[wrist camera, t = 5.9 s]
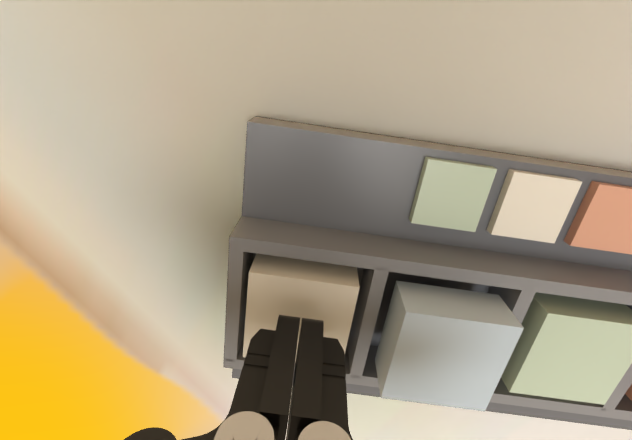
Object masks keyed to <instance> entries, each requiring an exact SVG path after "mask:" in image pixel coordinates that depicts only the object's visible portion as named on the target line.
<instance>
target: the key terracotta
mask: <svg viewBox="0 0 632 440" xmlns="http://www.w3.org/2000/svg"><path fill="white" fill-rule="evenodd" d="M625 394H626V395H627V396H628V398H629V399H630V400H631V401H632V384H631V386H630V387H629V388H628V390H627V391H626V393H625Z"/></svg>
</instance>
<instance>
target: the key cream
mask: <svg viewBox="0 0 632 440" xmlns="http://www.w3.org/2000/svg"><path fill="white" fill-rule="evenodd" d="M359 288H360V286H359V279H358V272H357V267H351V266H344V265H337V264H330V263H323V262H315V261H308V260H301V259H294V258H287V257H279V256H272V255H265V254H258V253H256V256H255V258H254V261H253V263H252V266H251V268H250V271H249V277H248V290H247V304H246V318H245V331H244V345H243V357H246V355H247V350H248V347H249V344H250V340H251V338H252V337H253V336H254V335H255V334H256V333H257V332H258V331H259V330H260V329H268V330H275V331H276V326H277V321H278V317H279V315H285V316H293V317H300V325H299V333H298V341H299V335H300V328H301V322H302V318H308V319H315V320H323V321H324V330H323V337H328V338H335V339H338V341H339V342H340V344H341V346H342V348H343V350H344V353H345V351H346V346H347V342H348V337H349V333H350V329H351V324H352V320H353V315H354V311H355V306H356V302H357V297H358V293H359ZM298 341H297V348H298ZM296 354H297V350H296ZM295 361H296V358H295Z"/></svg>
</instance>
